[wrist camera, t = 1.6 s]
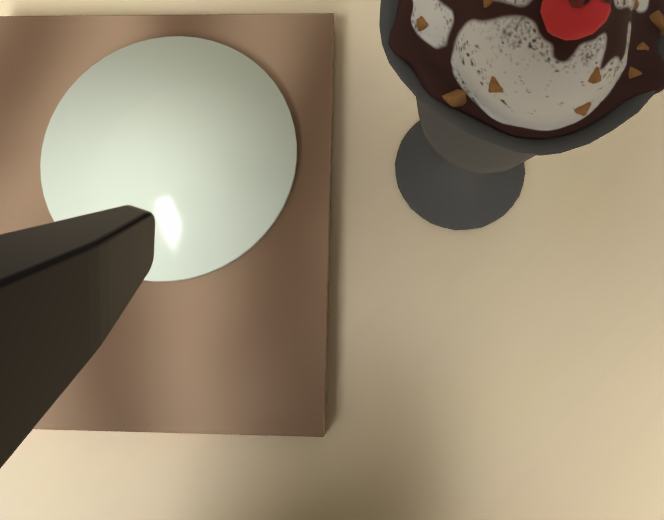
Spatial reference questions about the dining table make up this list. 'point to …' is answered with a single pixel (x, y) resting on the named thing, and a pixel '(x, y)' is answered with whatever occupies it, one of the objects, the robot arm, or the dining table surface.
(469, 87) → the sundae
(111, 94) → the coaster
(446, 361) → the dining table surface
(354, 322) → the dining table surface
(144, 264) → the robot arm
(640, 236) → the dining table surface
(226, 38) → the serving board
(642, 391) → the dining table surface
